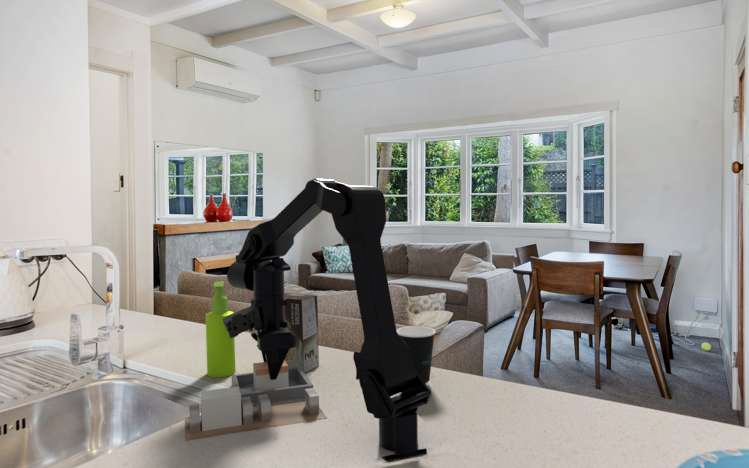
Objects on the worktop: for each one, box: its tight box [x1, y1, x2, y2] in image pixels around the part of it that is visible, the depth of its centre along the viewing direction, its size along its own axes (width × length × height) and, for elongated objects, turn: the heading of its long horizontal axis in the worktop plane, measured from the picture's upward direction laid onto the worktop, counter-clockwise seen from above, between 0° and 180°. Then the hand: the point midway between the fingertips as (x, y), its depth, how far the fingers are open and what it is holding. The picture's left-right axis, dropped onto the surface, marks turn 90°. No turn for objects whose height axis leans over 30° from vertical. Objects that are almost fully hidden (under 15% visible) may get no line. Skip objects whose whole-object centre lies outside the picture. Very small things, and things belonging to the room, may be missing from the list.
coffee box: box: [282, 292, 320, 373], centre depth 116 cm, size 9×6×16 cm
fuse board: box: [184, 387, 328, 442], centre depth 86 cm, size 9×22×4 cm, turn 110°
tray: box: [231, 367, 314, 406], centre depth 99 cm, size 12×14×3 cm
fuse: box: [200, 386, 242, 431], centre depth 84 cm, size 4×6×5 cm, turn 110°
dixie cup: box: [396, 325, 437, 387], centre depth 104 cm, size 8×8×11 cm
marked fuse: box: [252, 360, 289, 391], centre depth 99 cm, size 4×6×5 cm, turn 110°
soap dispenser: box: [205, 281, 236, 379], centre depth 112 cm, size 6×7×20 cm
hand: (271, 375), depth 99 cm, fingers open, 5 cm apart
